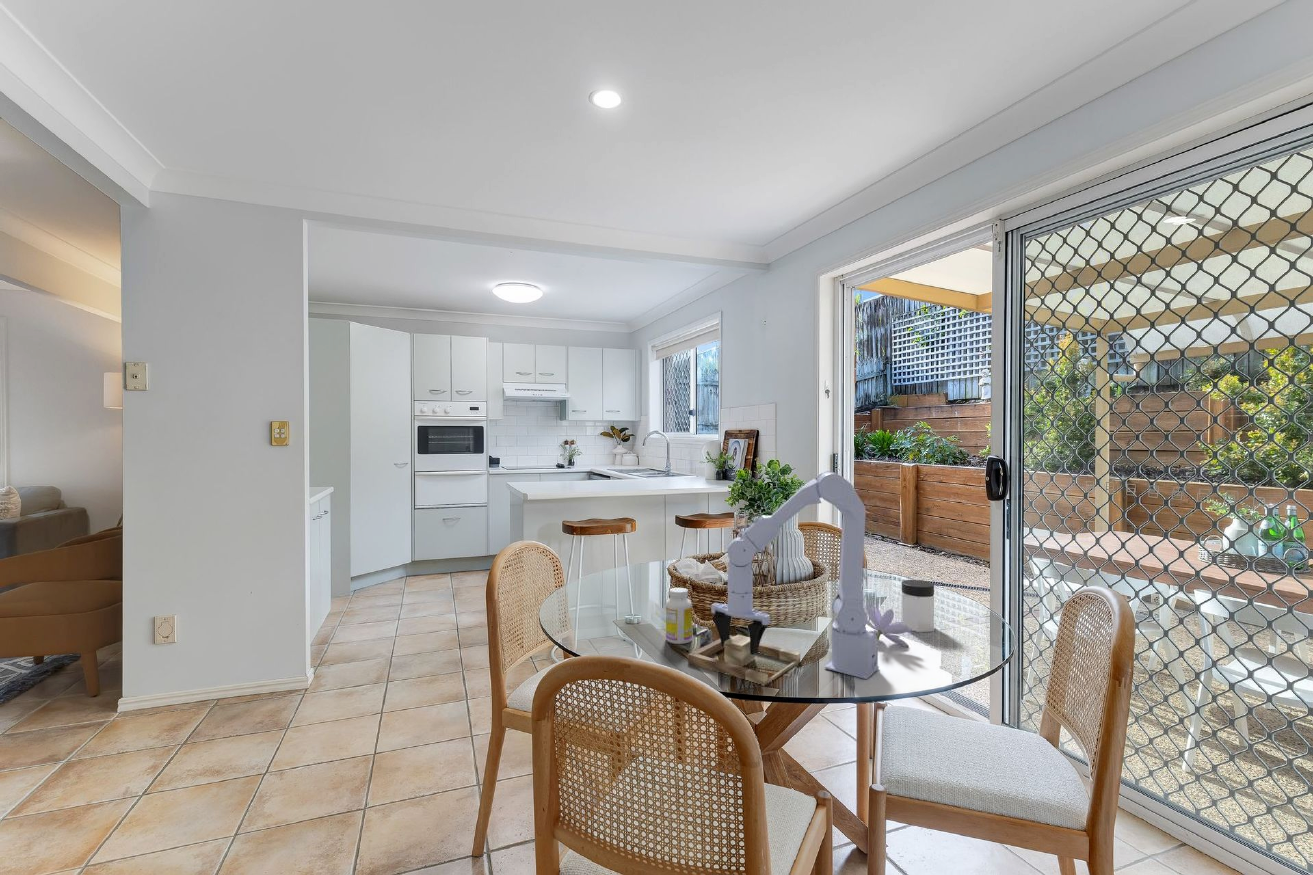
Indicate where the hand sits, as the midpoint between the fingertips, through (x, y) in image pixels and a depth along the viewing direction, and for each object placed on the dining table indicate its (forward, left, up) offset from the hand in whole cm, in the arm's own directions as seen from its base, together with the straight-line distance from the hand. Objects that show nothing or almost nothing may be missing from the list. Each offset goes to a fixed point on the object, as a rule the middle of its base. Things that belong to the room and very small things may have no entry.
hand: (739, 649), depth 139 cm
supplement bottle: (+19, -2, -3) cm, 19 cm away
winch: (+12, -2, -3) cm, 12 cm away
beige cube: (0, 0, -3) cm, 3 cm away
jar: (-25, -51, -3) cm, 57 cm away
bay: (-2, 0, -3) cm, 3 cm away
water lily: (-23, -32, -3) cm, 40 cm away
